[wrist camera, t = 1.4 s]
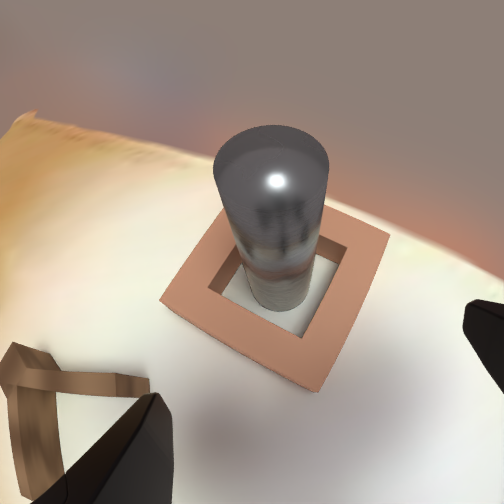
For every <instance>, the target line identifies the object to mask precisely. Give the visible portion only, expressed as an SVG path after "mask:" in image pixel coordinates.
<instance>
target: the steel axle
mask: <svg viewBox="0 0 504 504" xmlns="http://www.w3.org/2000/svg"><path fill="white" fill-rule="evenodd" d="M328 173H329V160H328V156H327V153H326V151H325V150H324V148H323V147H322V145H321V144H320V143H319V142H318V141H317V140H316V139H315V138H314V137H312V136H311V135H309V134H307V133H306V132H304V131H301V130H299V129H296V128H292V127H288V126H281V125H266V126H259V127H254V128H251V129H248V130H245V131H243V132H241V133H239V134H237V135H236V136H234V137H232V138H231V139H230V140H228V141H227V142H226V143H225V144H224V145H223V146H222V147H221V149H220V150H219V152H218V154H217V155H216V158H215V160H214V165H213V174H214V179H215V182H216V185H217V188H218V191H219V194H220V197H221V200H222V203H223V206H224V209H225V212H226V215H227V218H228V221H229V224H230V227H231V230H232V233H233V236H234V239H235V242H236V245H237V248H238V251H239V254H240V257H241V260H242V263H243V266H244V269H245V272H246V275H247V278H248V281H249V284H250V287H251V290H252V292H253V295H254V297H255V299H256V300H257V301H258V302H259V304H261V305H262V306H263V307H265V308H267V309H269V310H272V311H278V312H282V311H288V310H291V309H293V308H295V307H297V306H298V305H300V304H301V303H302V302H303V300H304V299H305V298H306V296H307V294H308V291H309V286H310V281H311V276H312V271H313V266H314V260H315V255H316V249H317V244H318V238H319V232H320V226H321V220H322V214H323V207H324V201H325V194H326V187H327V180H328Z"/></svg>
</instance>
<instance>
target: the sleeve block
mask: <svg viewBox="0 0 504 504" xmlns="http://www.w3.org/2000/svg"><path fill="white" fill-rule="evenodd" d="M389 237H390V234H388V233H386V232H384V231H382V230H380V229H378V228H376V227H374V226H371V225H369V224H367V223H365V222H363V221H360V220H358V219H356V218H354V217H352V216H349V215H347V214H345V213H342V212H340V211H338V210H336V209H333V208H331V207H329V206H326V205H324V207H323V214H322V220H321V226H320V232H319V238H318V244H317V249H316V254H318V255H321V256H323V257H325V258H327V259H329V260H331V261H333V262H335V263H338V264H340V265H339V267H338V269H337V271H336V273H335V275H334V277H333V279H332V282H331V284H330V286H329V288H328V290H327V292H326V294H325V296H324V297H323V299H322V301H321V303H320V305H319V307H318V309H317V311H316V313H315V315H314V317H313V319H312V321H311V322H310V324H309V326H308V328H307V330H306V332H305V334H304V335H303V337H302V338H300V337H298V336H296V335H294V334H292V333H290V332H288V331H286V330H284V329H282V328H280V327H278V326H277V325H275V324H273V323H271V322H269V321H267V320H265V319H263V318H261V317H260V316H258V315H256V314H254V313H252V312H250V311H248V310H247V309H245V308H243V307H241V306H239V305H238V304H236V303H234V302H232V301H230V300H228V299H227V298H225V297H223V296H221V294H222V292H223V291H224V289H225V288H226V286H227V284H228V283H229V281H230V280H231V278H232V277H233V275H234V274H235V272H236V270H237V269H238V267H239V266H240V264H241V263H242V260H241V257H240V254H239V251H238V248H237V245H236V242H235V239H234V236H233V233H232V230H231V227H230V224H229V221H228V218H227V215H226V212H225V209H224V208H223V209H222V211H221V212H220V213H219V215H218V216H217V217H216V219H215V220H214V222H213V223H212V224H211V226H210V227H209V229H208V230H207V231H206V233H205V234H204V236H203V237H202V238H201V240H200V241H199V243H198V244H197V245H196V247H195V248H194V250H193V251H192V252H191V254H190V255H189V257H188V258H187V260H186V261H185V263H184V264H183V265H182V267H181V268H180V270H179V271H178V273H177V274H176V276H175V277H174V279H173V280H172V282H171V283H170V284H169V286H168V287H167V289H166V290H165V292H164V293H163V295H162V296H161V298H160V299H159V301H160V302H162V303H163V304H164V305H165V306H167V307H168V308H169V309H170V310H172V311H173V312H174V313H176V314H178V315H179V316H181V317H182V318H184V319H185V320H187V321H188V322H190V323H192V324H193V325H195V326H196V327H198V328H199V329H201V330H203V331H204V332H206V333H207V334H209V335H211V336H212V337H214V338H216V339H217V340H219V341H221V342H222V343H224V344H226V345H227V346H229V347H231V348H232V349H234V350H236V351H238V352H239V353H241V354H243V355H245V356H246V357H248V358H250V359H252V360H253V361H255V362H257V363H259V364H261V365H262V366H264V367H266V368H268V369H270V370H272V371H273V372H275V373H277V374H279V375H281V376H283V377H285V378H287V379H288V380H290V381H292V382H294V383H296V384H298V385H300V386H302V387H304V388H306V389H308V390H310V391H312V392H317V393H318V392H319V390H320V388H321V387H322V385H323V383H324V381H325V379H326V378H327V376H328V374H329V372H330V370H331V368H332V366H333V364H334V362H335V361H336V359H337V357H338V355H339V353H340V351H341V349H342V347H343V345H344V343H345V341H346V339H347V337H348V335H349V333H350V330H351V328H352V326H353V324H354V322H355V320H356V318H357V315H358V313H359V311H360V309H361V307H362V304H363V302H364V300H365V298H366V295H367V293H368V291H369V288H370V286H371V283H372V281H373V279H374V276H375V274H376V271H377V269H378V266H379V264H380V261H381V258H382V256H383V253H384V251H385V248H386V245H387V243H388V240H389Z"/></svg>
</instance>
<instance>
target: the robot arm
mask: <svg viewBox="0 0 504 504" xmlns="http://www.w3.org/2000/svg"><path fill="white" fill-rule="evenodd" d="M463 332H464V334H465V336H466V338H467V339H468V341H469V342H470V344H471V345H472V347H473V349H474V350H475V352H476V353H477V355H478V357H479V358H480V360H481V362H482V363H483V365H484V367H485V368H486V370H487V371H488V373H489V374H490V375H491V377H492V378H493V380H494V381H495V382H496V384H497V385H498V387H499V388H500V389H501V391H502V392H503V394H504V304H501V303H495V302H490V301H485V300H479V299H476V300H473V301H471V302H469V303H468V304H467V305H466V307H465V313H464V320H463ZM173 473H174V453H173V425H172V415H171V412H170V410H169V409H168V407H167V405H166V404H165V402H164V400H163V399H162V397H161V395H160V394H159V393H156V392H154V393H146V394H143V395H142V396H141V397H140V398H139V399H138V400H137V401H136V402H135V403H134V404H133V405H132V406H131V407H130V408H129V409H128V410H127V411H126V412H125V413H124V414H123V415H122V416H121V417H120V418H119V420H118V421H117V422H116V423H115V424H114V425H113V426H112V427H111V428H110V429H109V430H108V431H107V432H106V433H105V434H104V435H103V436H102V437H101V438H100V439H99V440H98V441H97V442H96V443H95V444H94V445H93V446H92V447H91V448H90V449H89V450H88V451H87V452H86V453H85V454H84V455H83V456H82V457H81V458H80V459H79V460H78V461H77V462H76V463H75V464H74V465H73V466H72V467H71V468H70V469H68V470H67V471H66V474H63V475H62V476H61V477H60V478H59V479H58V480H57V481H56V482H55V483H54V484H53V485H52V486H51V487H50V488H49V489H47V490H46V491H45V492H44V493H43V494H42V495H40V496H39V497H38V498H37V499H36V500H34V501H33V502H32V503H30V504H172V488H173Z"/></svg>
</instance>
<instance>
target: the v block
mask: <svg viewBox="0 0 504 504" xmlns="http://www.w3.org/2000/svg"><path fill="white" fill-rule="evenodd" d="M0 386H1V388H2V390H3V392H4V394H5V396H6V398H7V406H8V420H9V430H10V439H11V446H12V453H13V459H14V465H15V470H16V475H17V480H18V484H19V489H20V493H21V495H22V496H24V497H26V498H28V499H30V500H32V501H34V500H36V499H37V498H38V497H39V496H40V495H42V494H43V493H44V492H45V491H46V490H47V489H49V488H50V487H51V486H52V485H53V484H54V483H55V482H56V481H57V480H58V479H59V478H60V477H61V476H62V475H63V474H64V468H63V462H62V456H61V449H60V441H59V432H58V422H57V410H56V392H61V393H70V394H80V395H92V396H107V397H131V398H140V397H141V396H142V395H143V394H146V393H150V388H149V379H147V378H141V377H135V376H129V375H123V374H118V373H92V372H69V371H61V370H60V368H59V367H58V365H57V364H56V362H55V361H54V359H53V358H52V356H51V355H50V354H49V353H45V352H42V351H39V350H36V349H33V348H30V347H27V346H24V345H21V344H18V343H15V342H12V344H11V345H10V347H9V349H8V350H7V352H6V353H5V355H4V357H3V358H2V360H1V362H0Z"/></svg>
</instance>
